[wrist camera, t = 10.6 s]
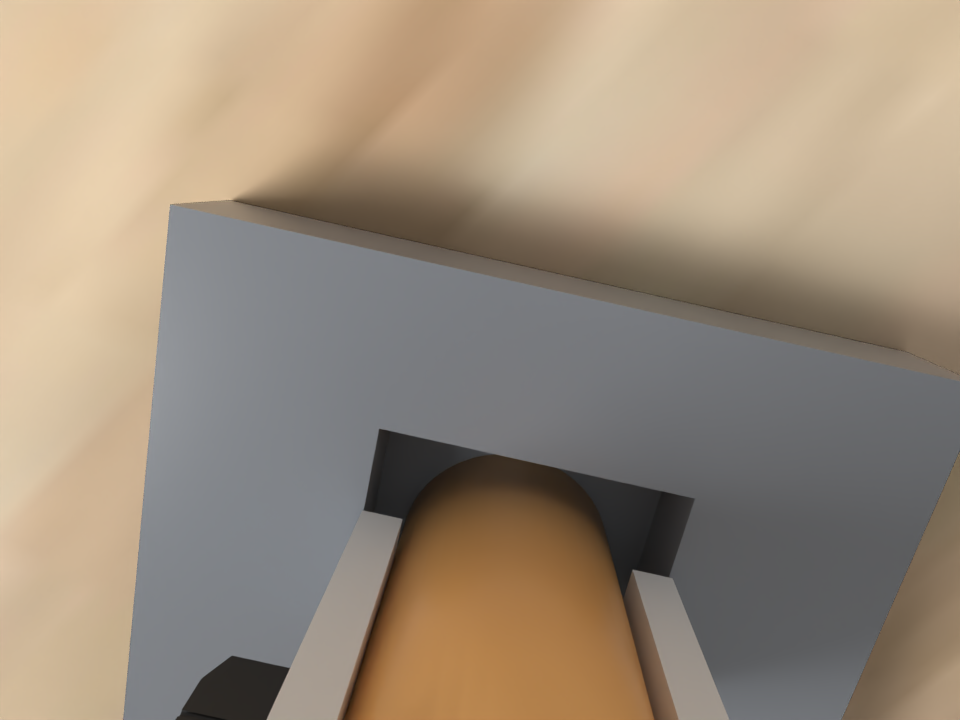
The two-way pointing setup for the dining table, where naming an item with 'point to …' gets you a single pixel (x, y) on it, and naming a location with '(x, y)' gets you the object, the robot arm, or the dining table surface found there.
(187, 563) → the housing
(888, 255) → the dining table surface
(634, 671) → the tan tapered peg
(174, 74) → the dining table surface
